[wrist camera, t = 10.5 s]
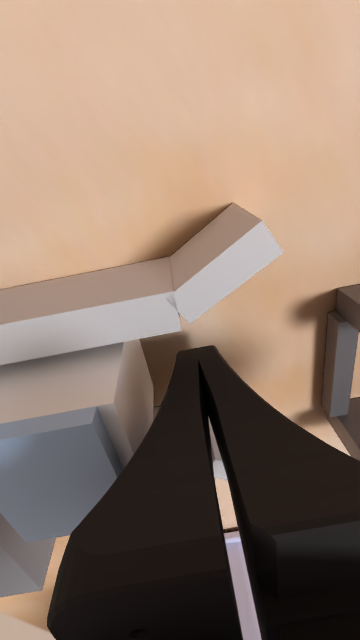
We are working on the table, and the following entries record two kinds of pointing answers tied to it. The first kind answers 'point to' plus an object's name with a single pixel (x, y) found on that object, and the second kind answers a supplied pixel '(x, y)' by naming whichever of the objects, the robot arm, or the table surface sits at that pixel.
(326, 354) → the gray vise
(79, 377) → the plug
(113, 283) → the grey forked block
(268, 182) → the table surface
